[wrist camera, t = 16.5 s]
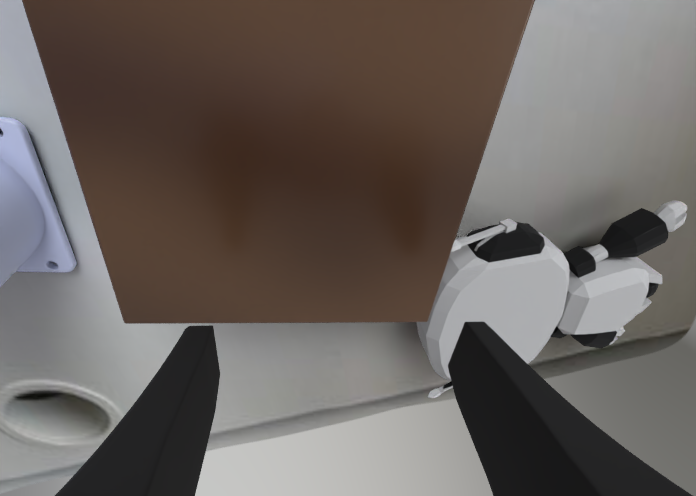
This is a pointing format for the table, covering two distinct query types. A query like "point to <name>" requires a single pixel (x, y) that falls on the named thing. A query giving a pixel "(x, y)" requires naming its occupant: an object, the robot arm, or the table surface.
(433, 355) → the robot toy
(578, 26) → the table surface
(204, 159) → the cabinet
